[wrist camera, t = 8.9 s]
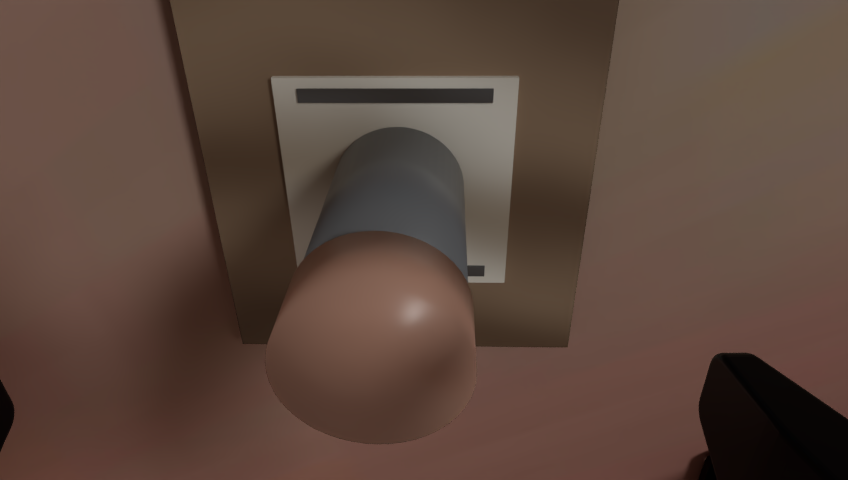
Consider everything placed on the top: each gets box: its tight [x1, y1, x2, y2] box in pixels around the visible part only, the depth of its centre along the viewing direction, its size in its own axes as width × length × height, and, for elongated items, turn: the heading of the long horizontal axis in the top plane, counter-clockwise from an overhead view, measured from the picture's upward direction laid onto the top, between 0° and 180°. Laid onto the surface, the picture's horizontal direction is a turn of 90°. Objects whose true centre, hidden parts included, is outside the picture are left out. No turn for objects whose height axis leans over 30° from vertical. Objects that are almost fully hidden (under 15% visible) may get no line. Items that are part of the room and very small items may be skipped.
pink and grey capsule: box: [265, 127, 477, 444], centre depth 15 cm, size 4×4×8 cm
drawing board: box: [170, 0, 619, 347], centre depth 19 cm, size 13×12×1 cm
